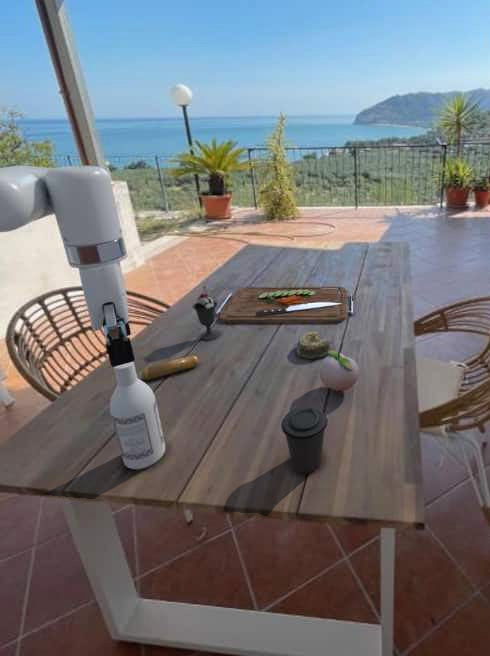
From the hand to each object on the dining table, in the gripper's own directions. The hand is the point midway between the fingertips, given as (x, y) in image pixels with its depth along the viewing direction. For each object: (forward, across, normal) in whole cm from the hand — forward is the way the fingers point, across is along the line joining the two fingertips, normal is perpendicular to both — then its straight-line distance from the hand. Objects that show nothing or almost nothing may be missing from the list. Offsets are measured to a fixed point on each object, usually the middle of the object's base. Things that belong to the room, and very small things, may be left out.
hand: (122, 349), depth 64 cm
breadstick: (+23, -26, +7) cm, 35 cm away
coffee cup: (+23, +17, +24) cm, 38 cm away
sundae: (+23, -40, +19) cm, 50 cm away
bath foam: (+23, 0, -1) cm, 23 cm away
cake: (+24, -17, +42) cm, 51 cm away
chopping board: (+23, -48, +47) cm, 71 cm away
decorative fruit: (+24, +2, +39) cm, 46 cm away
